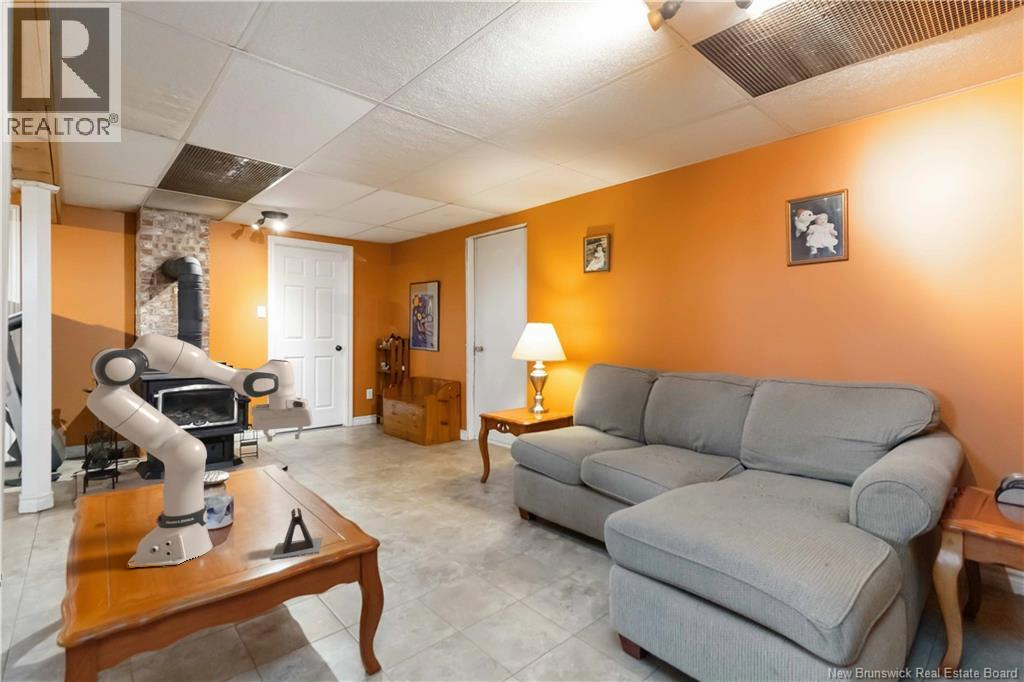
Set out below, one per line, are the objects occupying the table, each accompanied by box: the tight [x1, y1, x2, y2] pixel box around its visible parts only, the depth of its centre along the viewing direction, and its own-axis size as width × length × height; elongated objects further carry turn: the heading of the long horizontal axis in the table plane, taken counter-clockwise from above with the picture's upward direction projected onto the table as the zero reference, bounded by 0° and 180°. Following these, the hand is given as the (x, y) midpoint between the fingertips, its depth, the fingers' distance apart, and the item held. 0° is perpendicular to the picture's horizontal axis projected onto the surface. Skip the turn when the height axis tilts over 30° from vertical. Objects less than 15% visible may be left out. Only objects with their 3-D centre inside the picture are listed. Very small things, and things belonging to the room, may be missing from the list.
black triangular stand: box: [282, 507, 314, 554], centre depth 160 cm, size 9×6×12 cm, turn 116°
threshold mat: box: [270, 536, 323, 561], centre depth 161 cm, size 14×11×1 cm
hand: (283, 440), depth 181 cm, fingers open, 8 cm apart
